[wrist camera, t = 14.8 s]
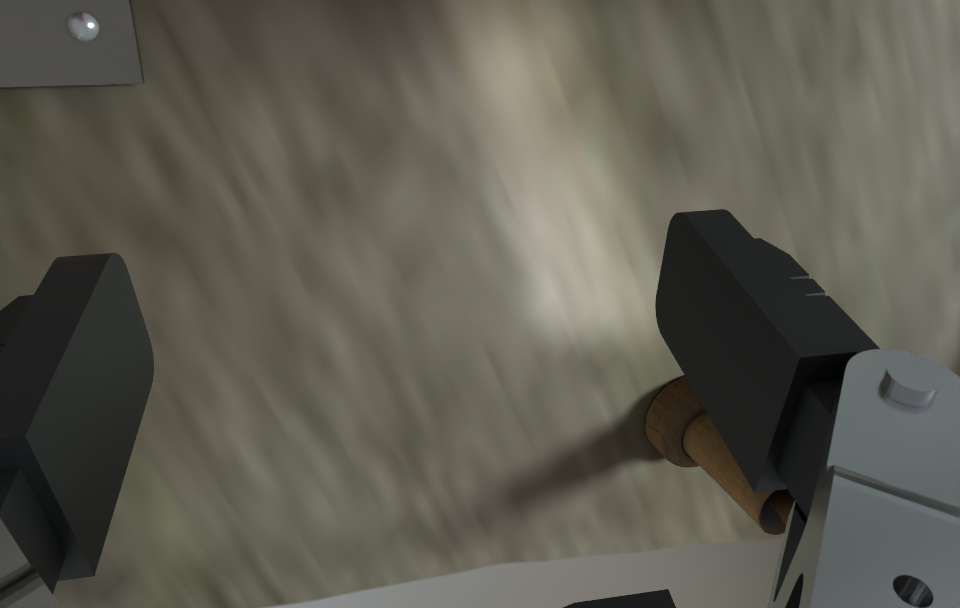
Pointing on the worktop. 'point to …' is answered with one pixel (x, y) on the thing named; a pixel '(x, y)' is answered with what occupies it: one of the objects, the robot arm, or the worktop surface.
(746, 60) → the worktop surface
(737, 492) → the brown wooden figurine
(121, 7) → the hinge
